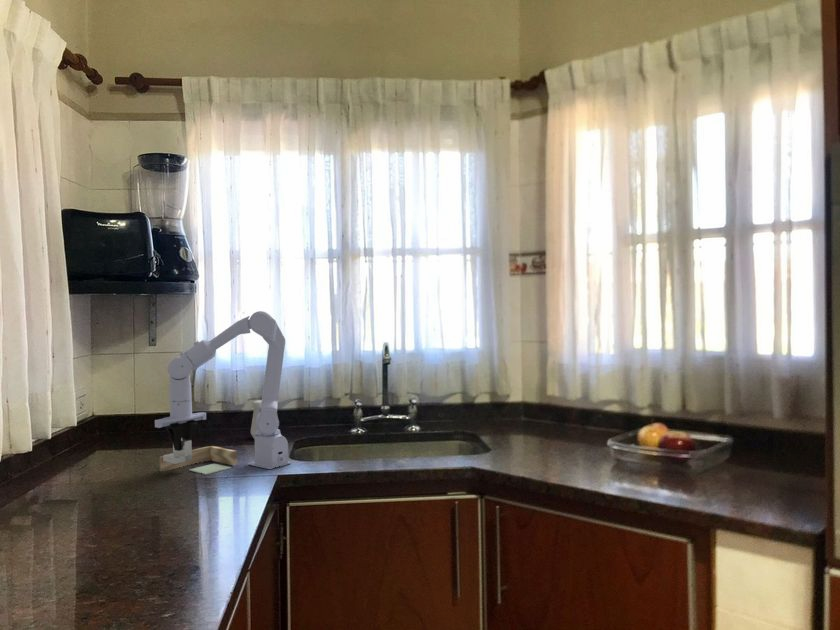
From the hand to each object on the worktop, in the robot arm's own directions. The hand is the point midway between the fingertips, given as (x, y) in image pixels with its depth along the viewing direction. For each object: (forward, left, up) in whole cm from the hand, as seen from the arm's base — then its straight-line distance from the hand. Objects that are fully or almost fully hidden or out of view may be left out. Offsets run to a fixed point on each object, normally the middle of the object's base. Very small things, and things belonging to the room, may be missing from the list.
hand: (182, 449), depth 174 cm
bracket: (0, +2, -3) cm, 3 cm away
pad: (-5, -5, -6) cm, 10 cm away
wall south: (-1, -12, -6) cm, 14 cm away
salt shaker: (+18, -40, -6) cm, 45 cm away
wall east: (+5, -4, -6) cm, 9 cm away
